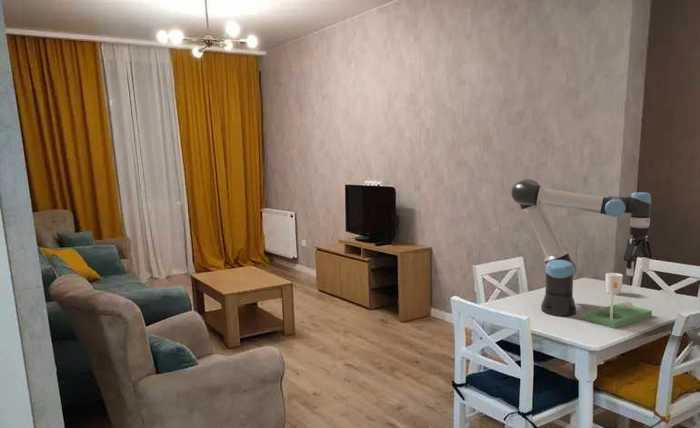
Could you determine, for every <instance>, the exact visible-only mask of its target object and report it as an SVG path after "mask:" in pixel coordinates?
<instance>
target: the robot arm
mask: <svg viewBox="0 0 700 428" xmlns="http://www.w3.org/2000/svg"><path fill="white" fill-rule="evenodd" d="M510 191H511V192H510V193H511V197H512V200H513V201H514V202H515V203H517V204H519V206H520V209H521V210H522V211H524V212H525V213H526V214H527V218H528V219H529V221H530V224H531V226H532V228H533V231H534V233H535V235H536V238H537V240H538V241H539V244H540V247H541V248H542V251H543V253H544V255H545V258H544V261H543V262H544V263H545V294H544V296H543V299H542V303H541V305H540V306H541V308H540V309H541V310H540V311H542V312H543V313H545V314H548V315H552V316H558V317H570V316H574V315H576V314H577V306H576V303H575V300H574V297H573V292H574V278H575V276H576V274H577V266H576V264H575V262H574V260H572V258H571V256H570V253H569V252H568V251H567V250H564V249H563V247H562V244H561V242H560V240H559V237H558V234H557V233H556V231H555V228H554V226H553V225H552V223H551V220H550V216H548V215H549V214H548V213H547V210H546V209H545V206H550V207H556V208H562V209H570V210H575V211H581V212H582V211H583V212H588V213H595V214H600V215H606V216H610V217H613V218H618V217H620V216H622V215H624V214H630V221H629V225H630V227H629V235H630V236H632V238H628V239H627V245H626V249H625V253H624V257H623V261H625V262H626V270H625V271H626V272H625V273H626V274H625V275H626V276H629V277H633V276H634V267H635V266H634V265H635V262H634V258H635V257H636V254H637V251H638V250H640V251H641V254H642V257H641V272H644V273H649V267H650V259H652V258H653V249H652V245H651V237H650V236H649V235H650V222H651V208H652V207H651V206H652V196H651V194H650V193H649V192H636V191H635V192H632V193H631V196H609V195H608V196H598V195H590V194H587V193H586V194H585V193H578V192H572V191H564V190H557V189H551V188H544V187H543V185H540V184H539V182H537V181H535V180H533V179H530V178H529V179H528V178H527V179H524V180H523V179H522V180H520V181H518V182H516V183H515V184H514V185H513V186H512V188H511V190H510Z"/></svg>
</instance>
